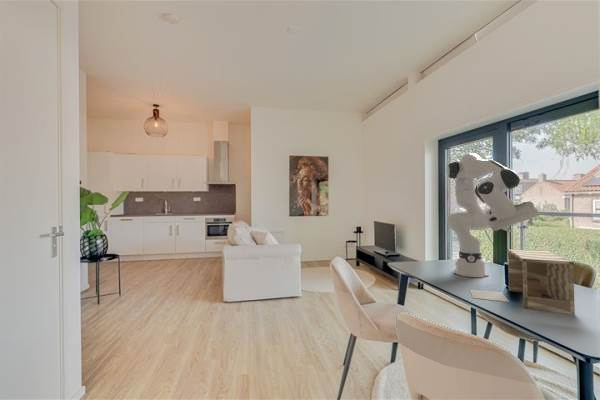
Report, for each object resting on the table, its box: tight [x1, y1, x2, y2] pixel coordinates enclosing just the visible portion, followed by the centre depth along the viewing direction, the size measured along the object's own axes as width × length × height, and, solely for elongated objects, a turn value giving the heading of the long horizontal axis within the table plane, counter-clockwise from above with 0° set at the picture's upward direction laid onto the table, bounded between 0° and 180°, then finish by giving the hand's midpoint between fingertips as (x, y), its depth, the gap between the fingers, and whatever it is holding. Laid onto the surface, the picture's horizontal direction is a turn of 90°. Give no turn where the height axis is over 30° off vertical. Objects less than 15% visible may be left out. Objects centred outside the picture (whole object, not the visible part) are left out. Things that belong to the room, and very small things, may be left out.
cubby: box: [507, 248, 576, 315], centre depth 127 cm, size 26×16×21 cm, turn 154°
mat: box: [469, 288, 510, 303], centre depth 135 cm, size 14×14×1 cm
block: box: [527, 277, 542, 298], centre depth 128 cm, size 5×5×10 cm
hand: (520, 227), depth 135 cm, fingers open, 8 cm apart
